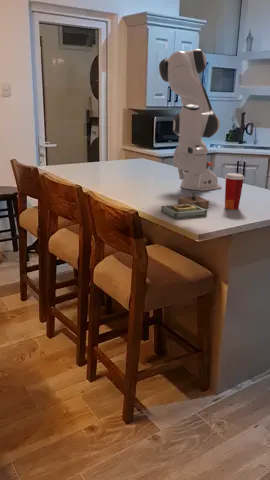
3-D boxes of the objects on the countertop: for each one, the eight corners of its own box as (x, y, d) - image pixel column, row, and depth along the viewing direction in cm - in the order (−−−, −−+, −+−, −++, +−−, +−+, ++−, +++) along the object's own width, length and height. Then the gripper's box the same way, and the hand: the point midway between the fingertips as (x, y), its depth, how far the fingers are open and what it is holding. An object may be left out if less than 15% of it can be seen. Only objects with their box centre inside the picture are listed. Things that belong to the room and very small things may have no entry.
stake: (196, 198, 196) (196, 190, 195) (197, 199, 195) (198, 191, 193) (187, 199, 194) (188, 191, 193) (189, 199, 193) (189, 192, 192)
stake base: (196, 202, 202) (197, 196, 201) (208, 207, 193) (209, 200, 192) (177, 203, 198) (178, 197, 197) (189, 209, 189) (189, 202, 188)
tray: (191, 208, 190) (191, 203, 189) (206, 215, 179) (207, 210, 178) (161, 211, 184) (161, 205, 183) (175, 219, 173) (175, 213, 173)
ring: (178, 214, 177) (179, 209, 176) (171, 210, 183) (171, 205, 182) (199, 212, 181) (199, 207, 180) (191, 208, 186) (191, 203, 186)
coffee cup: (238, 205, 197) (241, 173, 193) (243, 210, 190) (246, 176, 185) (220, 205, 197) (223, 172, 192) (224, 210, 189) (227, 176, 184)
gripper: (170, 144, 180) (168, 177, 185) (196, 150, 163) (194, 187, 168) (183, 143, 183) (181, 176, 188) (210, 150, 165) (207, 185, 170)
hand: (187, 181), depth 177 cm, fingers open, 8 cm apart
